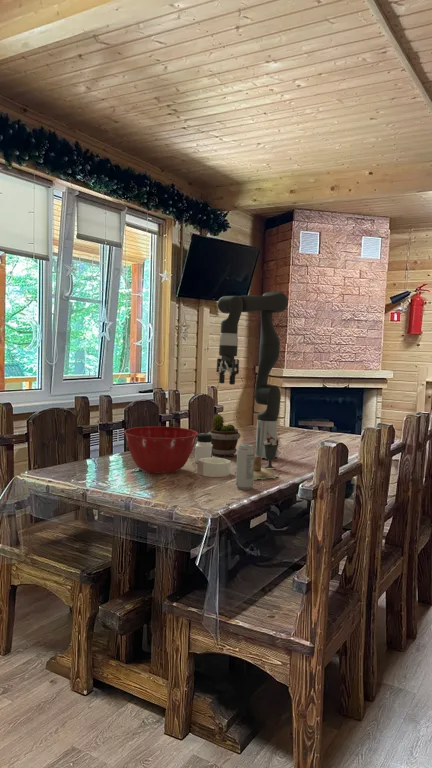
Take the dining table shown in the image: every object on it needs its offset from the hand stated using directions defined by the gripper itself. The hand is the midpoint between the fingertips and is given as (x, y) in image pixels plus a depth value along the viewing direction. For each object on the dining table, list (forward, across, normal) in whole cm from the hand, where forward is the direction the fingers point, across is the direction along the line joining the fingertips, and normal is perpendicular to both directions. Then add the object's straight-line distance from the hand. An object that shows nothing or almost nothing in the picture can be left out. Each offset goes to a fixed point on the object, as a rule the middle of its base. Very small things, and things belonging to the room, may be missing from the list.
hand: (226, 383), depth 228 cm
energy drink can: (+34, -36, +12) cm, 51 cm away
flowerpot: (+34, +21, -12) cm, 42 cm away
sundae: (+34, -11, -16) cm, 39 cm away
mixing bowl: (+34, -1, +29) cm, 45 cm away
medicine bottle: (+34, +10, +4) cm, 36 cm away
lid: (+33, -21, -3) cm, 39 cm away
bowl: (+34, -12, +11) cm, 38 cm away
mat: (+34, -21, -3) cm, 40 cm away
